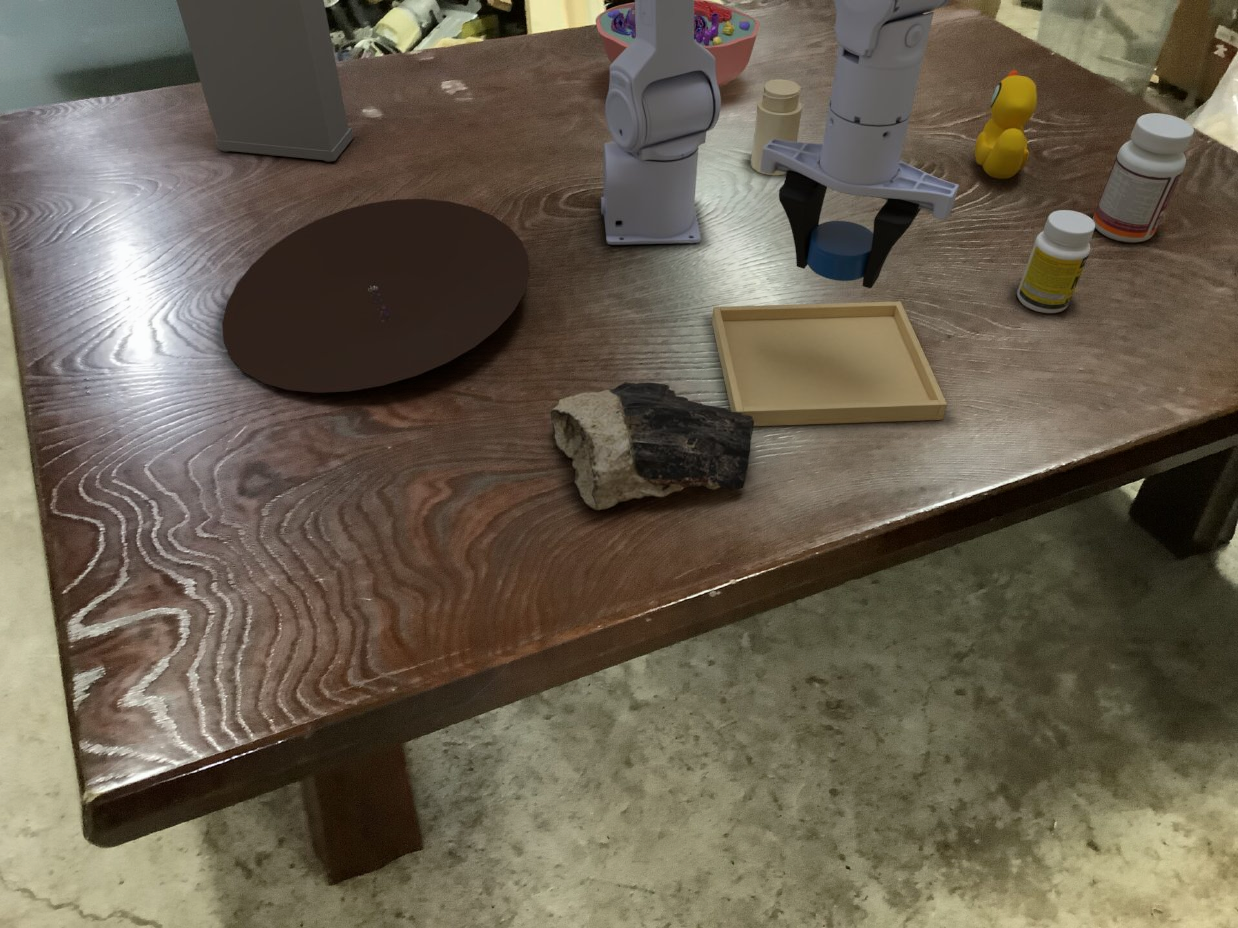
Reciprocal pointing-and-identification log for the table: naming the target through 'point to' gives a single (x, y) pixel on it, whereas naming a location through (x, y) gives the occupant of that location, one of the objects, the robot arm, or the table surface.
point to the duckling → (1007, 127)
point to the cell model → (713, 29)
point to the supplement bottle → (1056, 262)
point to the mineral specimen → (649, 443)
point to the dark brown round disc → (374, 295)
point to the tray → (825, 364)
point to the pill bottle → (1143, 178)
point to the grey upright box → (268, 76)
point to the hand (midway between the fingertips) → (837, 271)
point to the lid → (839, 250)
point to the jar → (776, 117)
